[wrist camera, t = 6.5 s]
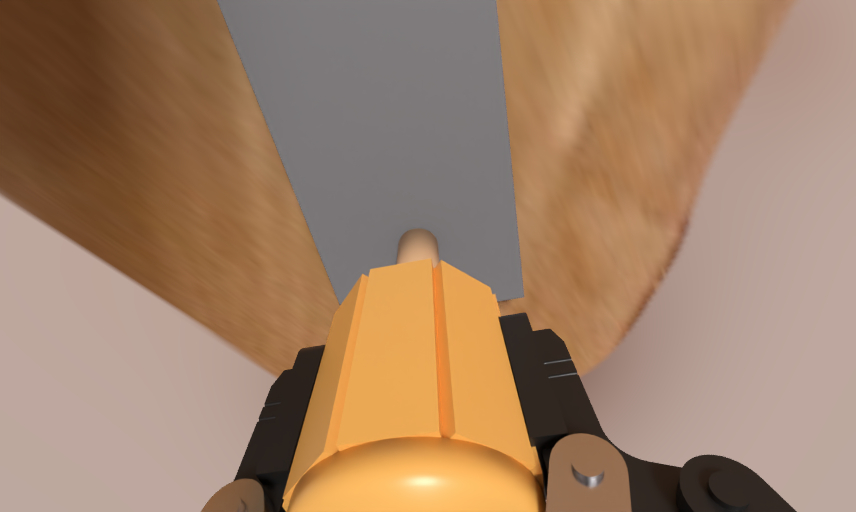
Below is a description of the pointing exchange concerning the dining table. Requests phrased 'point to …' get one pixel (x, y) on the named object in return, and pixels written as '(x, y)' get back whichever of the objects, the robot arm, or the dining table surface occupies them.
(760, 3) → the dining table surface
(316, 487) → the wire nut
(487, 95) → the board
